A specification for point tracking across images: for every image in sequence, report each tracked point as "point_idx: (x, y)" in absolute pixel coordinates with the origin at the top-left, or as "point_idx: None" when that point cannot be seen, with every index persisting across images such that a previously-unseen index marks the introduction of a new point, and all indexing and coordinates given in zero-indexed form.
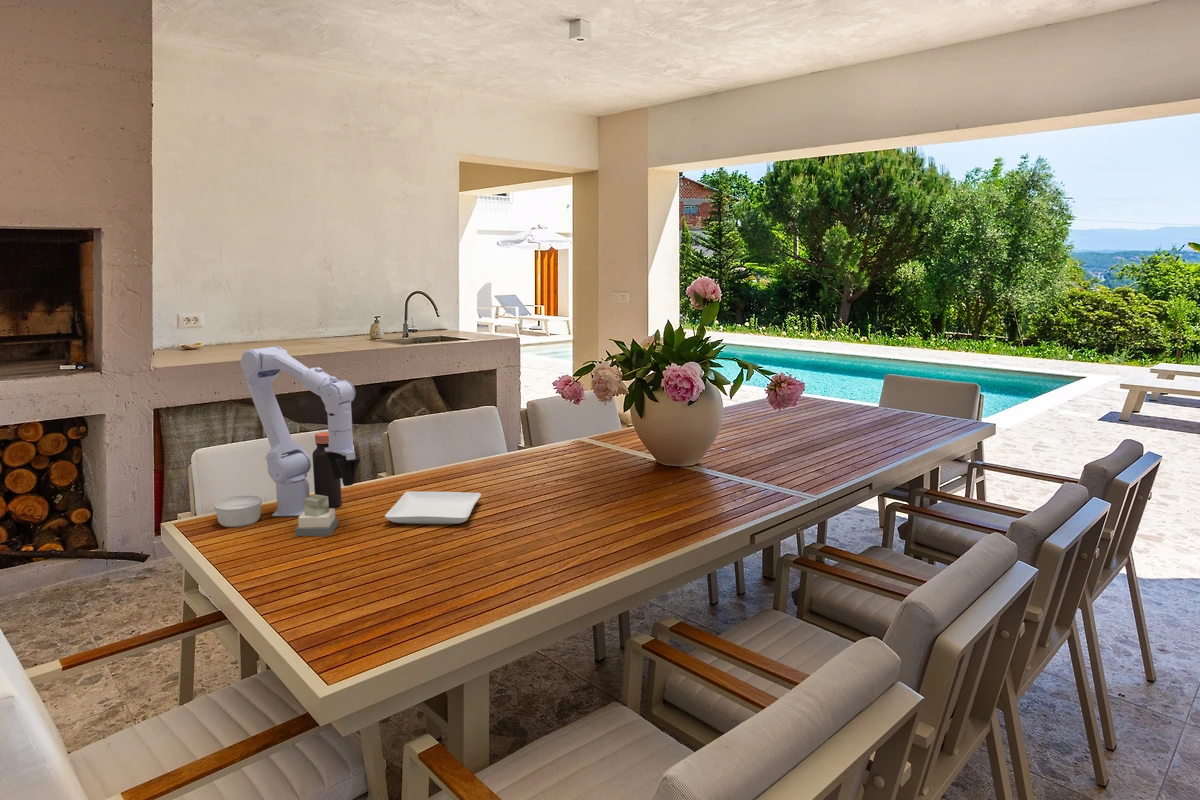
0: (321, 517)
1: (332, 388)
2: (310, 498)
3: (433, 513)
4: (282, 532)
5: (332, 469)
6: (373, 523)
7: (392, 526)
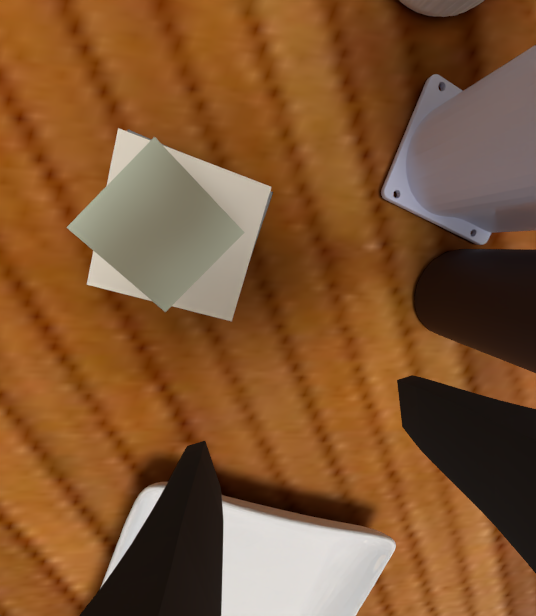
0: (93, 252)
1: None
2: (149, 189)
3: None
4: (216, 95)
5: (464, 410)
6: (204, 423)
7: (149, 477)
